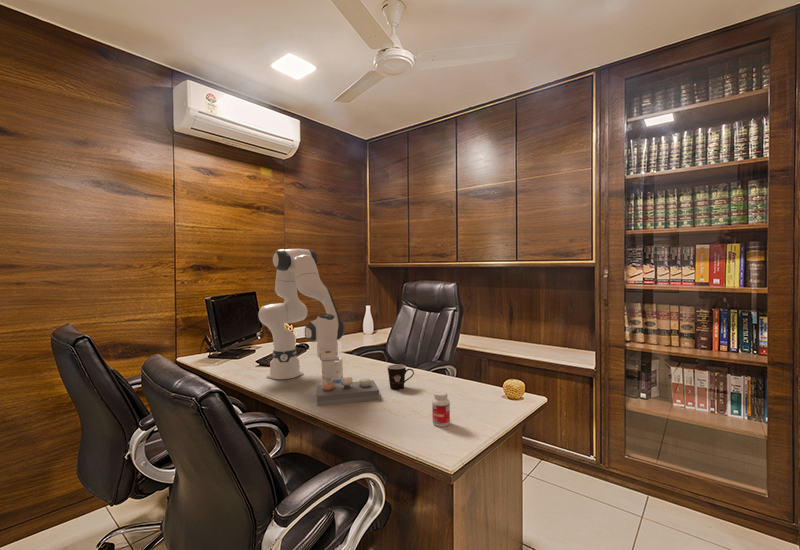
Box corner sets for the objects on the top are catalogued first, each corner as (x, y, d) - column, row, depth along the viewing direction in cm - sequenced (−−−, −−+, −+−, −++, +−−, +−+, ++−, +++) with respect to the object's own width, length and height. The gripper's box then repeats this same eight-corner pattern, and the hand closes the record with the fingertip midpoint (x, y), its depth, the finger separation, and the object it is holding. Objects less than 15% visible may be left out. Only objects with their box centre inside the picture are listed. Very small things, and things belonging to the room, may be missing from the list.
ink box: (343, 380, 188) (342, 354, 187) (339, 385, 179) (338, 358, 179) (326, 380, 189) (326, 354, 188) (321, 385, 180) (321, 358, 180)
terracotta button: (322, 392, 163) (322, 382, 163) (334, 391, 164) (333, 381, 164) (322, 396, 158) (322, 385, 158) (334, 394, 159) (334, 384, 159)
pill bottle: (429, 424, 132) (428, 393, 132) (438, 418, 137) (438, 389, 137) (443, 428, 128) (443, 397, 128) (453, 423, 133) (452, 392, 133)
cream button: (340, 387, 165) (340, 377, 165) (352, 386, 166) (351, 376, 166) (341, 390, 160) (341, 380, 160) (353, 389, 161) (353, 379, 161)
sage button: (358, 388, 167) (358, 379, 167) (369, 387, 168) (369, 378, 168) (360, 392, 162) (360, 382, 162) (371, 391, 163) (371, 381, 163)
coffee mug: (384, 389, 171) (384, 368, 171) (392, 384, 179) (391, 363, 179) (408, 392, 167) (407, 370, 167) (414, 386, 175) (414, 365, 175)
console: (316, 394, 168) (316, 385, 167) (373, 388, 173) (373, 380, 173) (317, 405, 153) (316, 396, 153) (379, 399, 159) (379, 390, 159)
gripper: (319, 347, 170) (320, 377, 171) (320, 357, 151) (321, 391, 151) (333, 346, 172) (334, 376, 172) (336, 356, 152) (337, 389, 152)
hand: (328, 383), depth 161 cm, fingers closed, pressing on terracotta button
